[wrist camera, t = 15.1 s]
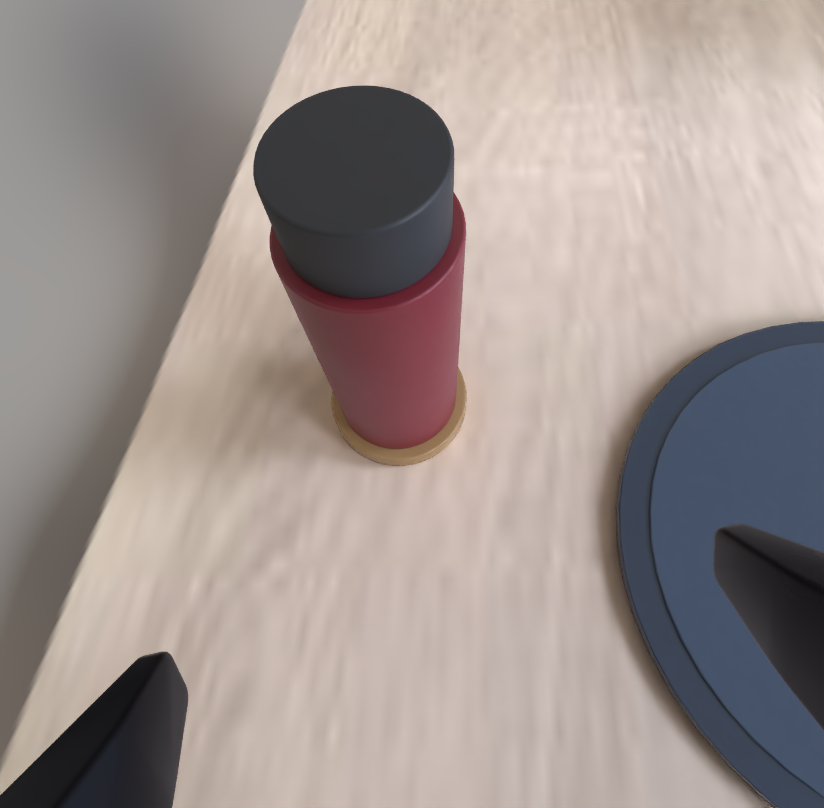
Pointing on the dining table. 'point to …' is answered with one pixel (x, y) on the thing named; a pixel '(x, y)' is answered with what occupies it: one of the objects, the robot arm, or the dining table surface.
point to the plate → (694, 542)
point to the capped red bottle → (372, 261)
